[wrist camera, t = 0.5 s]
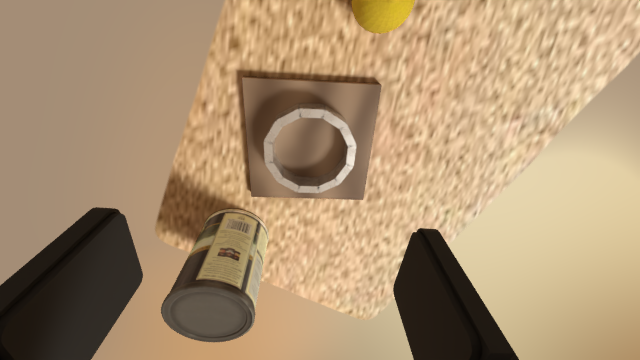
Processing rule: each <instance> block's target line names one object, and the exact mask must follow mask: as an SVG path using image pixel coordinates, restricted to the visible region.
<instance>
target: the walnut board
mask: <svg viewBox="0 0 640 360" xmlns="http://www.w3.org/2000/svg"><path fill="white" fill-rule="evenodd" d="M242 85H243V98H244V110H245V122H246V135H247V147H248V160H249V172H250V184H251V197H282V198H317V199H352V200H363V197H364V191H365V184H366V178H367V172H368V166H369V160H370V153H371V147H372V141H373V135H374V129H375V123H376V116H377V110H378V104H379V98H380V92H381V84H379V83H360V82H341V81H323V80H304V79H285V78H267V77H248V76H243V77H242ZM298 103H299V104H300V103H312V104H324V105H326V106H328V107H329V108H331V109H332V110H334V111H336V112H337V113H339V114H340V115H342V116H343V117H344V118H345V120H346V122H347V124H348V126H349V129H350V131H351V133H352V135H353V137H354V140H355V142H356V145H357V146H356V153H355V161H354V166H353V168H352V170H351V171H350V172H349V173H348V175H347V176H346V177H345V179H344V180H343V181H342V182H341V184H340V183H339V185H337V186H335V187H332V188H330V189H328V190H326V191H323V192H321V193H320V192H319V193H298V191H297V192H295V191H293V190H291V189H290V188H288V187H286V186H284V185H282V184H280V183H278V181H276V179H275V178H274V177H273V175H272V174H271V172H270V171H269V169H268V168H267V166H266V165H265V158H264V139H265V137H266V134H267V132H268V130H269V129H270V127H271V125H272V124H273V122H274V120H275V118H276V117H277V115H278V114H279V113H281V112H283V111H285V110H287V109H289V108H291V107H293V106H294V105H296V104H298ZM344 149H345V139H344V137H343V135H342V133H341V131H340V129H338V128H337V127H335V126H333V125H332V124H330V123H329V122H327V121H326V120H324V119H322V118H302V117H301V118H299V119H297V120H295V121H293V122H291V123H289V124H287V125H285V126H283V127H282V128H281V130H280V132H279V133H278V135H277V137H276V138H275V154H276V156H277V157H278V159H279V160H280V162H281V163H282V165H283V167H284V168H285V169H287V170H289V171H291V172H292V173H294V174H296V175H298V176H300V177H319V176H321V175H323V174H326V173H328V172H330V171H332V170H334V168H335V167H336V166H337V165H338V163H339V162H340V161H341V159H342V158H343V157H344Z"/></svg>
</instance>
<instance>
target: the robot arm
mask: <svg viewBox="0 0 640 360" xmlns="http://www.w3.org/2000/svg"><path fill="white" fill-rule="evenodd" d="M142 278H143V273H142V269H141V266H140V263H139V260H138V257H137V253H136V250H135V247H134V243H133V240H132V237H131V234H130V231H129V228H128V224H127V221H126V218H125V216H124V215H123V214H121V213H120V212H119V210H117V209H112V208H97V207H96V208H93V209H91V210H90V211H88V212H87V213H86V214H85V215H84V216H82V217H81V218H80V219H79V220H78V221H76V222H75V223H74V224H73V225H72V226H71V227H70V228H68V229H67V230H66V231H65V232H63V233H62V234H61V235H60V236H59V237H57V238H56V239H55V240H54V241H53V242H52V243H50V244H49V245H48V246H47V247H46V248H44V249H43V250H42V251H41V252H40V253H38V254H37V255H36V256H35V257H34V258H33V259H31V260H30V261H29V262H28V263H27V264H25V265H24V266H23V267H22V268H21V269H19V271H17V272H16V273H15V274H14V275H12V276H11V277H10V278H9V279H8V280H6V281H5V282H4V283H3V284H2V285H1V286H0V360H91V359H92V357H93V356H94V354H95V353H96V351H97V350H98V348H99V346H100V345H101V343H102V342H103V340H104V339H105V337H106V336H107V334H108V333H109V331H110V330H111V328H112V327H113V325H114V324H115V322H116V320H117V319H118V318H119V316H120V314H121V313H122V311H123V310H124V308H125V307H126V305H127V304H128V302H129V300H130V299H131V298H132V296H133V295H134V293H135V292H136V290H137V289H138V287H139V285H140V283H141V281H142ZM393 291H394V297H395V300H396V303H397V306H398V310H399V313H400V316H401V319H402V323H403V326H404V329H405V332H406V336H407V338H408V342H409V345H410V348H411V352H412V355H413V358H414V360H519V359H518V357H517V356H516V354H515V352H514V351H513V349H512V348H511V346H510V344H509V343H508V341H507V340H506V338H505V336H504V335H503V333H502V331H501V330H500V328H499V327H498V325H497V323H496V322H495V320H494V319H493V317H492V316H491V314H490V312H489V311H488V309H487V307H486V306H485V304H484V303H483V301H482V299H481V298H480V296H479V295H478V293H477V291H476V290H475V288H474V287H473V285H472V283H471V282H470V280H469V279H468V277H467V276H466V274H465V272H464V271H463V269H462V267H461V266H460V264H459V263H458V261H457V259H456V258H455V257H454V255H453V253H452V252H451V250H450V248H449V247H448V245H447V243H446V242H445V240H444V239H443V237H442V235H441V234H440V232H439V231H438V230H436V229H423V228H420V229H418V230H417V232H413V233H412V235H411V238H410V241H409V244H408V246H407V249H406V252H405V255H404V258H403V261H402V263H401V266H400V269H399V272H398V275H397V277H396V280H395V283H394V288H393Z"/></svg>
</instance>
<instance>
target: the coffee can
mask: <svg viewBox="0 0 640 360" xmlns="http://www.w3.org/2000/svg"><path fill="white" fill-rule="evenodd" d="M268 239H269V234H268V230H267V228H266V226H265V224H264V223H263V222H262V220H261V219H259V218H258V217H257V216H255V215H254V214H252V213H249V212H247V211H244V210H239V209H225V210H221V211H218V212H216V213H214V214H213V215H211V216H210V217H209V218H208V219H207V220H206V222H205V224H204V227H203V229H202V231H201V233H200V235H199V237H198V239H197V241H196V243H195V245H194V247H193V249H192V251H191V253H190V254H189V256H188V258H187V260H186V262H185V264H184V266H183V268H182V270H181V271H180V274H179V276H178V277H177V280H176V282H175V284H174V285H173V287H172V289H171V291H170V293H169V294H168V295H167V297H166V298H165V300H164V302H163V304H162V307H161V313H162V317H163V319H164V321H165V322H166V323H167V325H169V327H170V328H172V329H173V330H174V331H176V332H177V333H179V334H181V335H183V336H185V337H188V338H191V339H194V340H199V341H204V342H224V341H230V340H233V339H236V338H239V337H241V336H243V335H244V334H245V333H247V332H248V331H249V330H250V329H251V327H252V326H253V323H254V319H255V307H256V301H257V296H258V290H259V285H260V280H261V274H262V269H263V263H264V258H265V253H266V247H267V243H268Z"/></svg>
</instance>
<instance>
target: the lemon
mask: <svg viewBox="0 0 640 360" xmlns="http://www.w3.org/2000/svg"><path fill="white" fill-rule="evenodd" d="M414 2H415V0H352V10H353V13H354V16H355V19H356V20H357V22H358V23H359V25H360V26H362V27H363V28H364V29H365V30H367V31H369V32H372V33H379V34H381V33H386V32H389V31H392V30H394V29H396V28H397V27H398V26H400V25H401V24H402V23H403V22H404V21H405V20H406V18H407V17H408V16H409V14H410V12H411V10H412V8H413V5H414Z"/></svg>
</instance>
